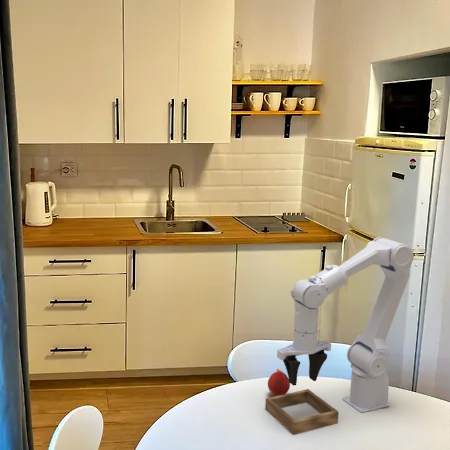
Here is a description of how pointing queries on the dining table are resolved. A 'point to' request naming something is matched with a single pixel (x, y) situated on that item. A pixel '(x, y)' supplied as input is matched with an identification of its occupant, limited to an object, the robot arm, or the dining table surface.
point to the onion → (278, 383)
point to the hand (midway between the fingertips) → (302, 381)
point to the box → (304, 424)
